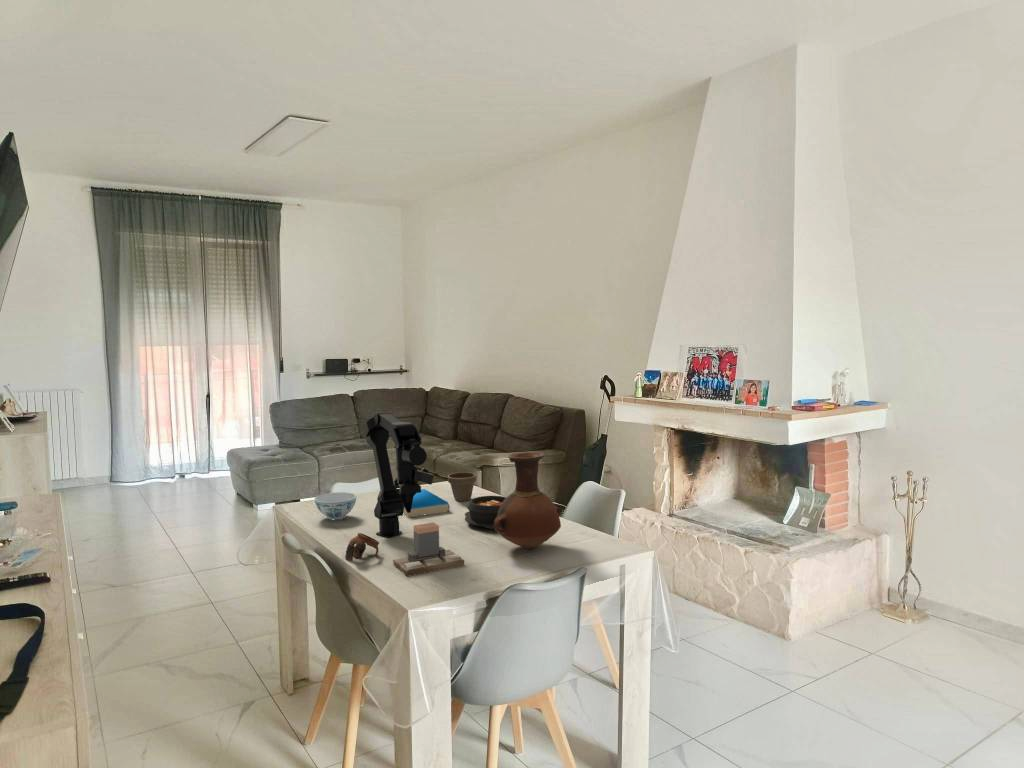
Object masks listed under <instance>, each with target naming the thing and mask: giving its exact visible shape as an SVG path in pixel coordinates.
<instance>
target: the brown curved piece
mask: <svg viewBox="0 0 1024 768" xmlns="http://www.w3.org/2000/svg"><path fill="white" fill-rule="evenodd" d="M379 544H380V542H379V541H378V540H376V539H374V538H373V537H371V536H369V535H367V534H364V533H361V532H358V533H357V535H356V536H355V537H352V538H351V539H350V540H349V541H348V544H347V547H346V550H345V555H344V557H345V559H346V560H348V561H350V562H353V560H354V559H355V560H362V557H363V555H364V553H365V551H366V548H367V546H369V547H371V548H373V549H375V550H376V551H375V557H378V554H379Z"/></svg>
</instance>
